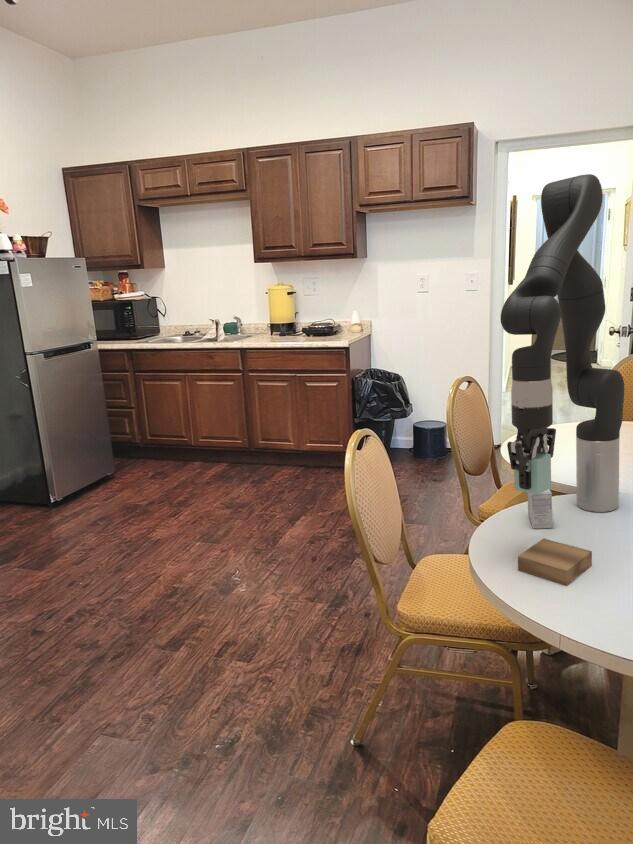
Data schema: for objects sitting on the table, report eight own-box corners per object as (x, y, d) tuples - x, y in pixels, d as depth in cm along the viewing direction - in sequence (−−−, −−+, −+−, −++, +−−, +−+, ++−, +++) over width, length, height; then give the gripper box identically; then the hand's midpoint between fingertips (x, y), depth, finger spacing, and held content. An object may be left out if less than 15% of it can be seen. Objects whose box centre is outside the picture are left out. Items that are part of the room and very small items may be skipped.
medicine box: (553, 529, 136) (552, 492, 134) (532, 529, 137) (531, 493, 135) (547, 515, 144) (546, 480, 142) (527, 515, 145) (526, 481, 143)
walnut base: (543, 551, 127) (543, 538, 126) (591, 565, 119) (591, 551, 118) (518, 570, 120) (517, 556, 120) (567, 585, 113) (566, 571, 112)
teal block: (528, 482, 125) (527, 450, 124) (551, 487, 121) (550, 454, 120) (514, 489, 122) (514, 456, 120) (537, 494, 118) (537, 460, 117)
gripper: (534, 392, 125) (535, 471, 129) (493, 407, 116) (495, 491, 120) (569, 395, 119) (569, 478, 123) (528, 411, 110) (530, 499, 114)
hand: (532, 484), depth 121 cm, fingers closed on teal block, 5 cm apart
